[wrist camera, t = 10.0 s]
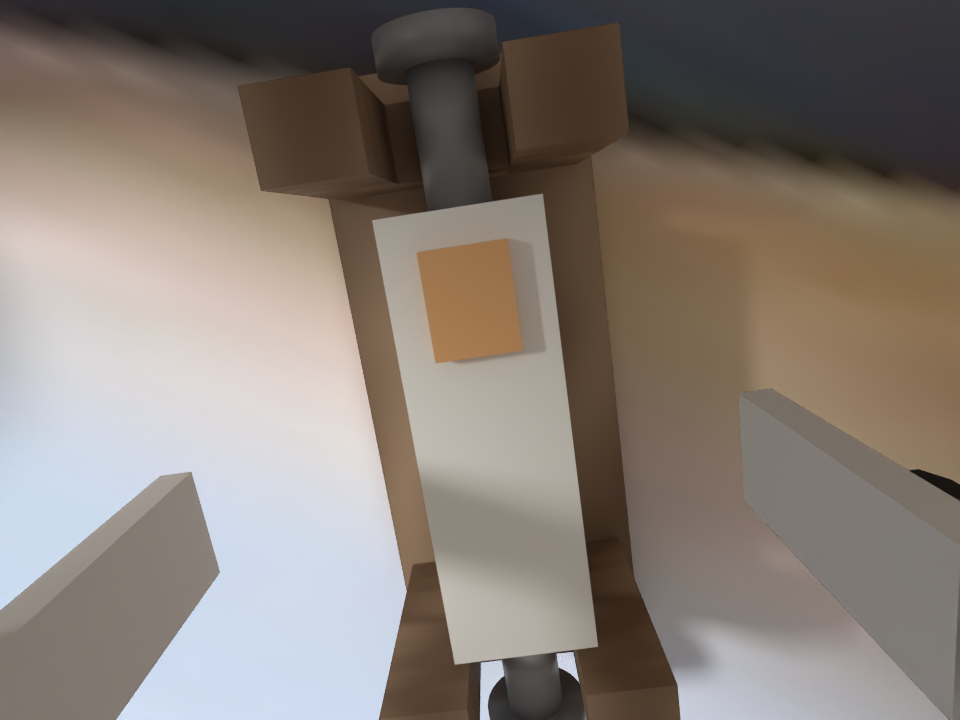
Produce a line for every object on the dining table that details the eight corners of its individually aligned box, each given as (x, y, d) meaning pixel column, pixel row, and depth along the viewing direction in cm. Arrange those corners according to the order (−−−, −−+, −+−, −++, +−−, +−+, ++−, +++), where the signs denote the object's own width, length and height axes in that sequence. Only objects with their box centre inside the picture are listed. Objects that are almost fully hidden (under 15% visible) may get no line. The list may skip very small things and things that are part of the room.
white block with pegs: (479, 671, 26) (477, 807, 20) (373, 69, 20) (327, 8, 14) (586, 657, 26) (617, 791, 20) (508, 47, 20) (518, -25, 14)
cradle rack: (419, 638, 28) (387, 830, 19) (310, 88, 23) (197, 5, 14) (635, 612, 27) (703, 797, 19) (576, 44, 22) (634, -71, 13)
